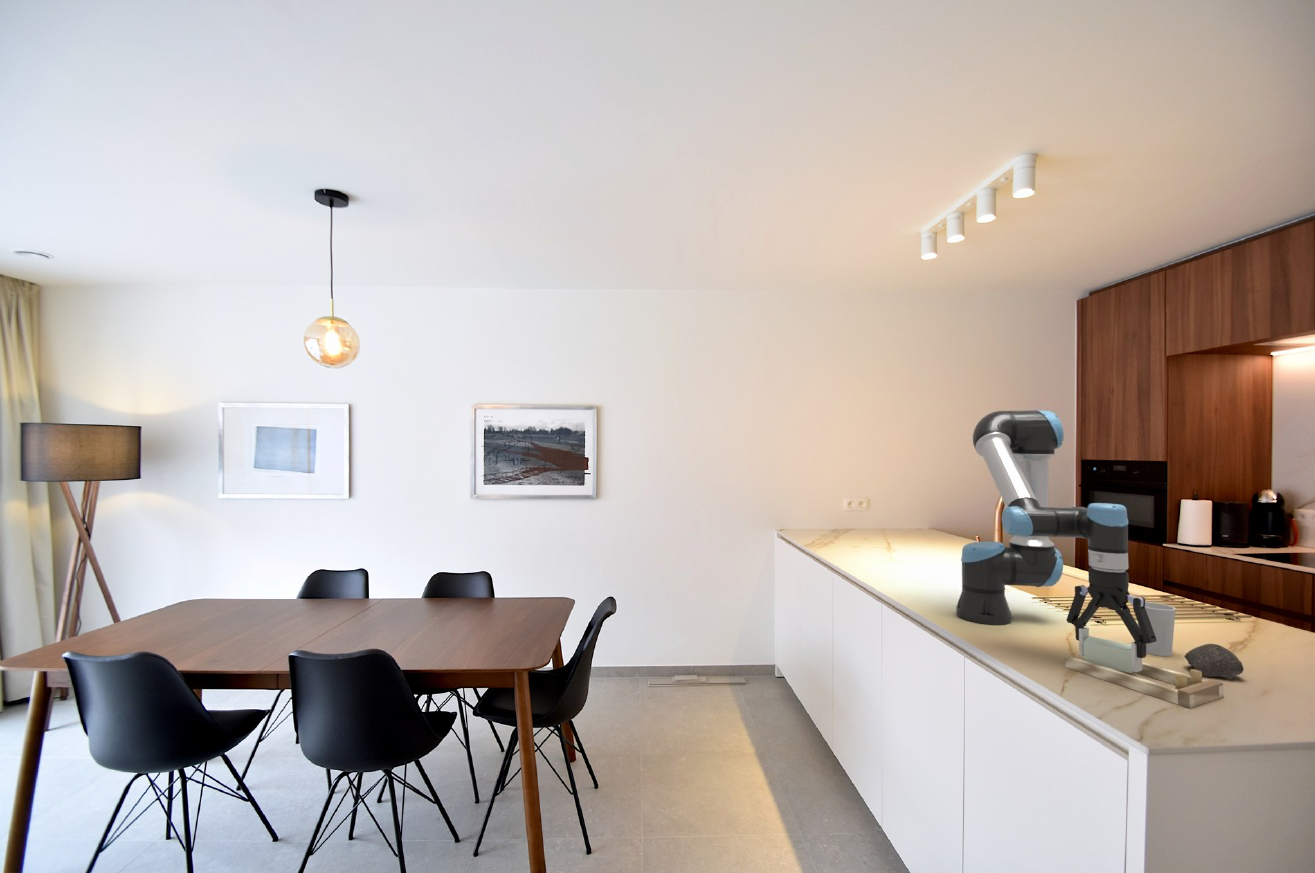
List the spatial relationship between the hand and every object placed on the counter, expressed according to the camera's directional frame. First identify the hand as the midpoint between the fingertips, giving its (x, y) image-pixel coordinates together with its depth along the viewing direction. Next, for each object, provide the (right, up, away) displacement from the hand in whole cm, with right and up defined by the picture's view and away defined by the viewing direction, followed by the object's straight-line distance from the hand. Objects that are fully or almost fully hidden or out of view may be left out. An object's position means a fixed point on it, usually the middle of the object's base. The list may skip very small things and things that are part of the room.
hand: (1109, 662), depth 136 cm
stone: (+24, -3, -1) cm, 24 cm away
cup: (+23, -3, +13) cm, 26 cm away
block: (0, 0, 0) cm, 0 cm away
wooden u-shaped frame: (+2, -2, -6) cm, 6 cm away
